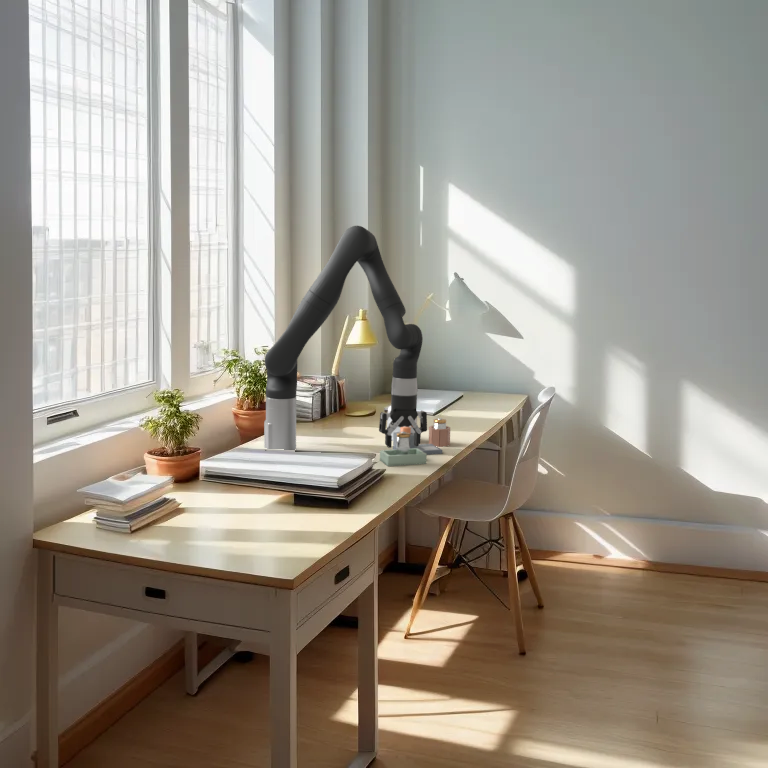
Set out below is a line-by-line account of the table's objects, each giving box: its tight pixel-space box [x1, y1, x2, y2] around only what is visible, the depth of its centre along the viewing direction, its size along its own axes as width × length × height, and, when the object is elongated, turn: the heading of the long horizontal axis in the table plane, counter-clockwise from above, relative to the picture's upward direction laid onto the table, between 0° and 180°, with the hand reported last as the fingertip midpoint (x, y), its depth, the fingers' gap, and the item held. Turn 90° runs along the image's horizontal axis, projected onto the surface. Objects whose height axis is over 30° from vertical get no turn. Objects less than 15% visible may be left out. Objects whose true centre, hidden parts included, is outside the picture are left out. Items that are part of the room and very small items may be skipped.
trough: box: [379, 448, 428, 467], centre depth 262 cm, size 12×8×3 cm, turn 109°
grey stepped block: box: [392, 431, 443, 456], centre depth 274 cm, size 13×9×6 cm
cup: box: [428, 424, 451, 448], centre depth 285 cm, size 6×6×6 cm
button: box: [400, 427, 411, 435], centre depth 274 cm, size 3×3×5 cm
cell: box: [396, 432, 410, 455], centre depth 262 cm, size 4×4×8 cm
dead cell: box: [433, 417, 447, 429], centre depth 284 cm, size 4×4×8 cm
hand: (402, 446), depth 262 cm, fingers open, 8 cm apart
